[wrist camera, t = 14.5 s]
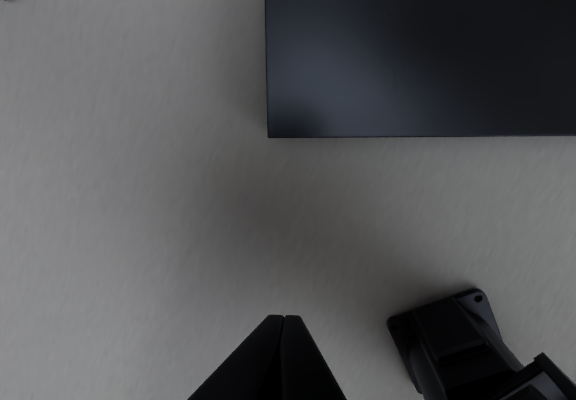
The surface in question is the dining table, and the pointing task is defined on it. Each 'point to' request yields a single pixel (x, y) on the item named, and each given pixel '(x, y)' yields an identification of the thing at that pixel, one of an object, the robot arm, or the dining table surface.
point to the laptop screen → (420, 68)
